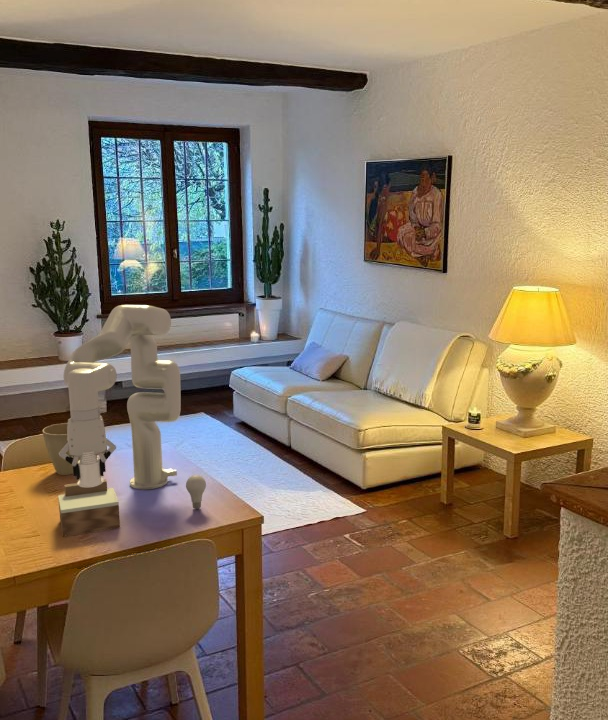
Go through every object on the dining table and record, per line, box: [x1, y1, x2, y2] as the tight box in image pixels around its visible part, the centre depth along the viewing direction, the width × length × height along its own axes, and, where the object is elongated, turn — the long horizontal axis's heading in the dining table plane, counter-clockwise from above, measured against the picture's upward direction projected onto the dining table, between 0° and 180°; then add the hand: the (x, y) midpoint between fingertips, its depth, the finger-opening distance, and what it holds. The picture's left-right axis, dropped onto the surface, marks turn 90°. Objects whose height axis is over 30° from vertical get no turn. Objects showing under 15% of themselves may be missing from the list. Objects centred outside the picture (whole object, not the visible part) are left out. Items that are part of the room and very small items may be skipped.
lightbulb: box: [185, 474, 207, 510], centre depth 229 cm, size 6×6×11 cm
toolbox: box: [58, 503, 121, 538], centre depth 219 cm, size 16×12×7 cm
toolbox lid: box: [57, 478, 120, 513], centre depth 218 cm, size 16×12×4 cm
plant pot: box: [42, 422, 80, 476], centre depth 262 cm, size 15×15×16 cm
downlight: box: [77, 451, 104, 488], centre depth 206 cm, size 8×7×10 cm
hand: (89, 475), depth 206 cm, fingers closed on downlight, 5 cm apart
